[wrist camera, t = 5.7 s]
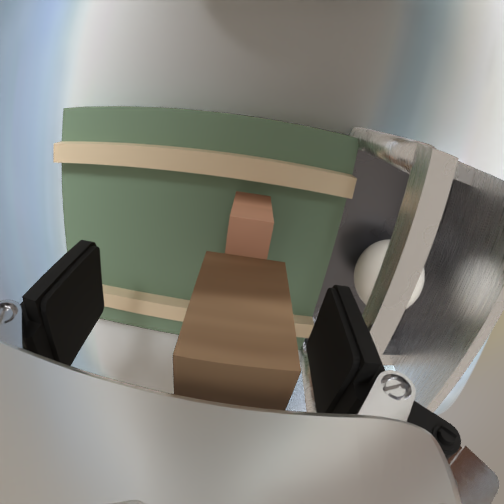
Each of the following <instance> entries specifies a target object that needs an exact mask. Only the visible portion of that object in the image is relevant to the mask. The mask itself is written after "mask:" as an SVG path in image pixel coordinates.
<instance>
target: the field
mask: <svg viewBox="0 0 504 504" xmlns="http://www.w3.org/2000/svg"><path fill="white" fill-rule="evenodd" d="M358 147H359V145H358V138H355V137H352V136H348V135H344V134H340V133H336V132H332V131H327V130H323V129H318V128H314V127H309V126H304V125H299V124H294V123H288V122H283V121H277V120H271V119H265V118H259V117H252V116H245V115H238V114H230V113H221V112H212V111H202V110H191V109H178V108H161V107H132V106H99V107H74V108H64V111H63V127H62V141H61V142H57V143H54V162H58V163H62V195H63V212H64V224H65V235H66V244H67V252H68V251H69V250H70V249H71V248H72V247H73V246H75V245H76V244H77V243H78V242H79V241H80V240H86V241H91V242H95V243H96V246H97V247H99V248H100V259H101V274H102V286H103V296H104V310H103V313H102V314H101V316H100V318H101V319H105V320H109V321H114V322H118V323H123V324H127V325H132V326H137V327H142V328H147V329H152V330H157V331H162V332H167V333H173V334H178V335H179V333H180V330H181V327H182V324H183V321H184V318H185V314H186V311H187V308H188V305H189V302H190V299H191V296H192V293H193V290H194V287H195V284H196V280H197V277H198V274H199V271H200V269H201V266H202V263H203V260H204V257H205V254H206V251H212V252H218V253H225V248H226V241H227V233H228V225H229V218H230V213H231V209H232V206H233V202H234V198H235V194H236V191H239V192H246V193H253V194H259V195H266V196H271V203H272V211H273V218H274V226H273V231H272V236H271V241H270V246H269V252H268V257H267V260H273V261H280V262H285V265H286V271H287V278H288V284H289V291H290V297H291V304H292V311H293V317H294V324H295V331H296V338H297V345H298V350H300V348H301V347H302V346H303V343H304V340H305V338H309V336H310V334H311V331H312V329H313V326H314V322H313V317H312V316H313V313H314V310H315V307H316V304H317V301H318V297H319V294H320V291H321V288H322V285H323V281H324V278H325V275H326V271H327V268H328V265H329V261H330V258H331V254H332V251H333V247H334V244H335V240H336V237H337V233H338V229H339V226H340V222H341V218H342V214H343V210H344V206H345V203H346V199H347V198H350V199H352V197H353V193H354V189H355V185H356V181H357V178H356V177H354V176H353V175H352V174H353V169H354V165H355V161H356V156H357V152H358Z"/></svg>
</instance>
